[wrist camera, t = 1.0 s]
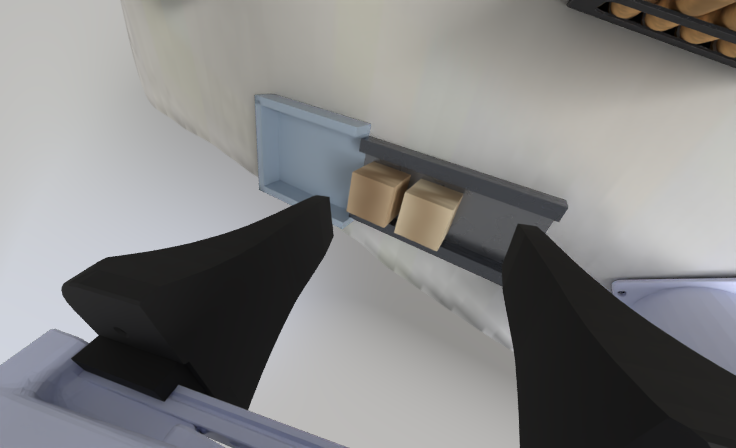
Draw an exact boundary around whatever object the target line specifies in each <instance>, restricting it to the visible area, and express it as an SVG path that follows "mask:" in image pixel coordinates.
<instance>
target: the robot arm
mask: <svg viewBox="0 0 736 448" xmlns="http://www.w3.org/2000/svg"><path fill="white" fill-rule="evenodd" d="M333 236H334V235H333V226H332V216H331V206H330V197H327V196H320V195H315V196H312V197H310V198H307V199H305V200H303V201H301V202H299V203H297V204H294V205H292V206H290V207H288V208H286V209H284V210H282V211H280V212H278V213H276V214H273V215H271V216H269V217H266V218H264V219H262V220H260V221H257V222H255V223H253V224H250V225H248V226H245V227H242V228H240V229H237V230H234V231H231V232H228V233H225V234H222V235H219V236H215V237H211V238H208V239H204V240H200V241H197V242H193V243H189V244H184V245H180V246H175V247H170V248H165V249H160V250H154V251H149V252H142V253H135V254H128V255H122V256H115V257H107V258H105V259H103V260H101V261H99V262H97V263H96V264H94V265H92V266H91V267H89V268H87V269H86V270H84V271H83V272H81V273H79V274H78V275H76V276H75V277H73V278H72V279H70V280H68V281H67V282H65V283H64V284H63V286H62V295H63V297H64V298H65V300H66V301H67V303H68V304H69V305H70V306H71V307H72V308H73V310H74V311H75V312H76V313H77V314H78V315H80V317H82V319H83V320H84V321H85V322H86V323H87V324H88V325H89V326H90V327H91V328H92V329H93V330H94V331H95V332H96V333H97V334H98V335H99V336H98V337H96V338H95V339H94V340H93V341H92V342H90V343H87V342H86V341H84V340H83V339H80V338H79V337H76V336H73V335H70V334H68V333H65V332H62V331H59V330H56V329H51V330H49V331H48V332H46V333H45V334H43V335H42V336H41V337H39V338H38V339H36V340H35V341H34V342H32V343H31V344H30V345H28V346H27V347H25V348H24V349H22V350H21V351H20V352H18V353H17V354H15V355H14V356H13V357H11V358H10V359H8V360H7V361H6V362H4V363H3V364H1V365H0V448H225V447H223V446H221V445H220V444H218V443H216V442H214V441H213V440H215V441H218V442H220V443H223V444H225V445H227V446H230V447H232V448H348V447H345V446H342V445H340V444H337V443H335V442H332V441H329V440H326V439H324V438H321V437H318V436H316V435H313V434H310V433H308V432H305V431H302V430H299V429H297V428H294V427H291V426H289V425H286V424H283V423H280V422H277V421H275V420H272V419H270V418H267V417H264V416H261V415H259V414H256V413H253V412H250V411H248V408H249V406H250V403H251V400H252V398H253V395H254V393H255V390H256V388H257V385H258V382H259V380H260V378H261V375H262V372H263V370H264V368H265V366H266V363H267V361H268V358H269V356H270V354H271V351H272V349H273V347H274V345H275V343H276V341H277V338H278V336H279V334H280V332H281V330H282V328H283V325H284V324H285V322H286V320H287V318H288V316H289V313H290V311H291V309H292V308H293V306H294V304H295V302H296V300H297V299H298V297H299V295H300V294H301V292H302V290H303V289H304V287H305V286H306V284H307V283H308V281H309V280H310V278H311V277H312V275H313V273H314V272H315V270H316V269H317V267H318V265H319V264H320V262H321V261H322V259H323V258H324V256H325V254H326V252H327V250H328V248H329V246H330V243H331V241H332V238H333ZM502 286H503V295H504V300H505V306H506V311H507V316H508V322H509V327H510V332H511V337H512V343H513V348H514V356H515V364H516V377H517V392H518V410H519V434H520V448H736V278H700V279H645V280H616V281H614V282H613V283H612V293H613V294H611V293H610V292H609V291H608V290H606V289H605V288H604V287H603V286H602V285H600V284H599V283H598V282H597V281H596V280H595V279H593V278H592V277H591V276H590V275H589V274H588V273H586V272H585V271H584V270H583V269H582V268H581V267H580V266H579V265H577V264H576V263H575V262H574V261H573V260H572V259H571V258H570V257H569V256H568V255H567V254H566V253H565V252H564V251H563V250H562V249H561V248H560V247H558V246H557V245H556V244H555V243H554V242H553V241H552V240H551V239H550V238H549V237H548V236H547V235H546V234H545V233H544V232H543V231H542V230H541V229H540V228H538V227H537V226H532V225H525V224H517V227H516V229H515V232H514V235H513V237H512V240H511V243H510V245H509V248H508V251H507V253H506V256H505V259H504V261H503V264H502ZM619 291H625V293H622V294H620V293H618V292H619ZM207 437H208V438H207ZM209 438H211V439H213V440H211V439H209Z"/></svg>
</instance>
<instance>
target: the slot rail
mask: <svg viewBox="0 0 736 448" xmlns="http://www.w3.org/2000/svg"><path fill="white" fill-rule="evenodd" d="M359 152H362V153H365V154H366V155H365V161H364V166H365V165H367V164H369V163H371V162H373V161H374V162H377V163H380V164H382V165H385V166H388V167H391V168H394V169H396V170H399V171H402V172H405V173H407V174H410V175H411V177H410V181H409V184H408V188H407V190H408V189H409V188H411V187H412V186H413V185H414V184H415V183H416V182H418V181H419V180H420V179H424V180H427V181H430V182H432V183H435V184H438V185H441V186H444V187H446V188H449V189H452V190H455V191H457V192H460V193H463V197H462V199H461V202H460V204H459V207H458V209H457V212H456V214H455V216H454V219H453V221H452V224H451V226H450V229H449V231H448V233H447V235H446V236H445V238H444V240H443V242H442V243H441V245H440V247H439V249H438V251H434V250H432V249H430V248H428V247H425V246H423V245H421V244H419V243H416V242H414V241H412V240H410V239H407V238H405V237H403V236H401V235H398V234H396V233H394V231H395V227H396V224H397V220H398V216H399V214H398V215H397V216H396V217H395V218H394V219H393V220H392V221H391V222H390V223H389V224H388V225H387V226H386V227H385V228H383V227H380V226H378V225H376V224H374V223H372V222H369V221H367V220H365V219H363V218H360V217H358V216H356V215H354V214H351V213H349V217H350V218H352V219H355V220H357V221H359V222H361V223H364V224H366V225H368V226H370V227H372V228H375V229H377V230H379V231H381V232H384V233H386V234H388V235H390V236H392V237H395V238H397V239H399V240H401V241H403V242H406V243H408V244H410V245H412V246H415V247H417V248H419V249H421V250H423V251H426V252H428V253H430V254H432V255H435V256H437V257H439V258H441V259H443V260H446V261H448V262H450V263H452V264H454V265H457V266H459V267H461V268H463V269H466V270H468V271H470V272H472V273H474V274H477V275H479V276H481V277H483V278H486V279H488V280H490V281H492V282H494V283H497V284H499V285H501V286H502V264H503V261H504V259H505V256H506V253H507V251H508V248H509V245H510V243H511V240H512V237H513V235H514V232H515V229H516V227H517V224H525V225H532V226H537V227H538V228H540V229H541V230H542V231H543V232H544V233H546V231H547V230H548V228H549V227H550V225H551V223H552V222H553V220H554V221H557V222H559V221H560V220H561V218H562V217H563V215H564V214H565V212H566V210H567V209H568V205H567V202H566V200H564V199H560V198H557V197H554V196H551V195H548V194H545V193H542V192H539V191H536V190H533V189H530V188H527V187H524V186H521V185H518V184H515V183H512V182H508V181H505V180H502V179H499V178H496V177H493V176H490V175H487V174H484V173H481V172H478V171H475V170H472V169H469V168H466V167H463V166H460V165H457V164H453V163H450V162H447V161H444V160H441V159H438V158H435V157H432V156H429V155H426V154H423V153H420V152H417V151H414V150H411V149H408V148H405V147H402V146H398V145H395V144H392V143H389V142H386V141H383V140H380V139H377V138H374V137H371V136H367V137H364V138H361V141H360V148H359Z"/></svg>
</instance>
